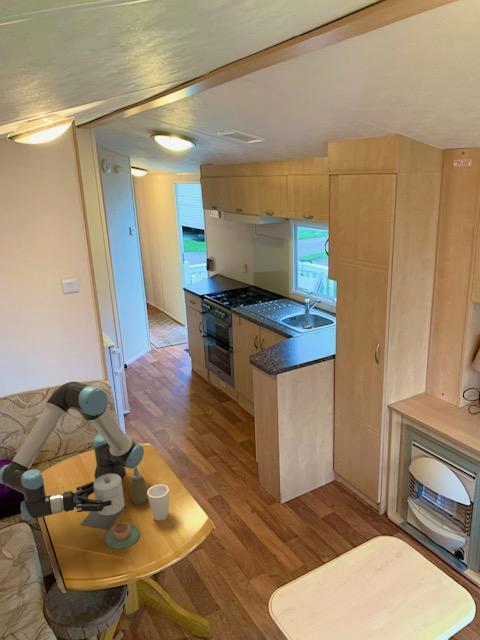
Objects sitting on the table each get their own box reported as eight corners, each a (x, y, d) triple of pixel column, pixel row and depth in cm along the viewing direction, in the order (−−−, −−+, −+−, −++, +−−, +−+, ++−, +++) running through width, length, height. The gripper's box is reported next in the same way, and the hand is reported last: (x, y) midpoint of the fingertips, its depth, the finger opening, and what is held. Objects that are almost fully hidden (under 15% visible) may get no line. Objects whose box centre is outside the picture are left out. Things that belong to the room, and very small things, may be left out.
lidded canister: (106, 496, 212) (102, 467, 208) (129, 500, 208) (125, 471, 204) (91, 512, 202) (87, 483, 198) (115, 517, 198) (111, 487, 194)
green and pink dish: (116, 523, 215) (115, 514, 214) (145, 528, 211) (144, 519, 210) (99, 546, 202) (97, 536, 201) (129, 552, 199) (128, 542, 197)
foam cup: (167, 524, 213) (164, 498, 210) (146, 522, 215) (144, 496, 211) (174, 509, 222) (171, 485, 218) (154, 507, 224) (152, 483, 220)
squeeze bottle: (136, 509, 224) (132, 475, 218) (127, 501, 229) (123, 467, 224) (151, 501, 229) (148, 467, 223) (142, 493, 234) (138, 460, 229)
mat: (99, 502, 229) (99, 501, 229) (126, 506, 226) (126, 506, 225) (79, 525, 215) (79, 524, 215) (108, 530, 211) (108, 530, 211)
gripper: (65, 493, 210) (117, 482, 216) (63, 529, 189) (121, 516, 194) (62, 477, 208) (115, 467, 214) (60, 512, 186) (119, 500, 192)
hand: (118, 490), depth 204 cm, fingers closed on lidded canister, 11 cm apart
